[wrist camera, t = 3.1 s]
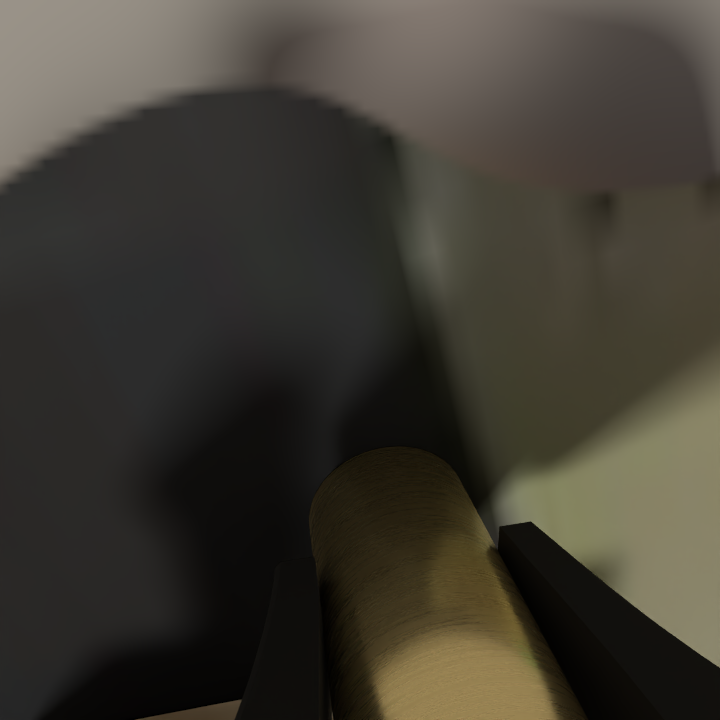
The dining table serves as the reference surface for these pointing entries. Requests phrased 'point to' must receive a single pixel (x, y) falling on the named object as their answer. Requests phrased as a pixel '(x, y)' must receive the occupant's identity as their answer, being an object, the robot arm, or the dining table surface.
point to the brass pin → (423, 601)
